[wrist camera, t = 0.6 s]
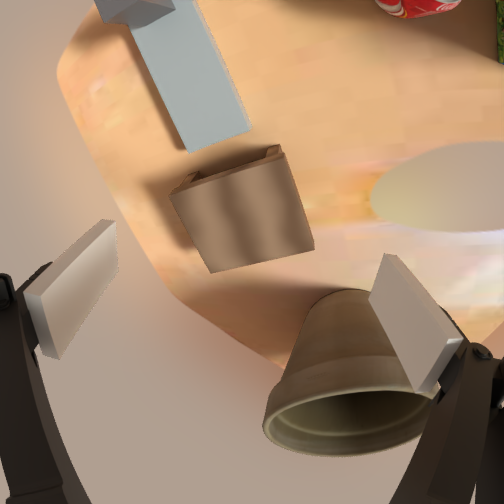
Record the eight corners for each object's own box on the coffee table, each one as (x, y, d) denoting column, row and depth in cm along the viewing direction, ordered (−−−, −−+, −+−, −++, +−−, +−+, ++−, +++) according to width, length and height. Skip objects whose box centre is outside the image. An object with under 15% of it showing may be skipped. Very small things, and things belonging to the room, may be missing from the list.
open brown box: (285, 142, 36) (283, 158, 31) (312, 224, 42) (314, 249, 37) (184, 176, 40) (168, 196, 35) (219, 247, 46) (210, 273, 41)
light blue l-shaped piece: (183, -26, 24) (141, -49, 15) (252, 125, 35) (236, 154, 26) (128, 5, 27) (72, -2, 17) (194, 147, 38) (160, 183, 29)
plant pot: (245, 312, 54) (222, 427, 36) (364, 232, 42) (399, 363, 24) (330, 372, 62) (330, 465, 45) (433, 319, 50) (462, 422, 33)
